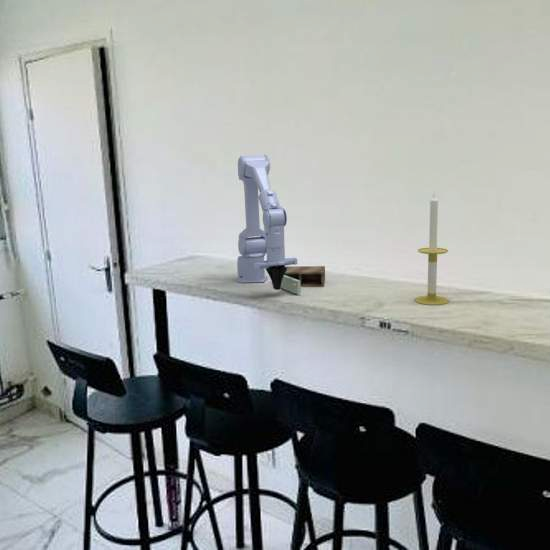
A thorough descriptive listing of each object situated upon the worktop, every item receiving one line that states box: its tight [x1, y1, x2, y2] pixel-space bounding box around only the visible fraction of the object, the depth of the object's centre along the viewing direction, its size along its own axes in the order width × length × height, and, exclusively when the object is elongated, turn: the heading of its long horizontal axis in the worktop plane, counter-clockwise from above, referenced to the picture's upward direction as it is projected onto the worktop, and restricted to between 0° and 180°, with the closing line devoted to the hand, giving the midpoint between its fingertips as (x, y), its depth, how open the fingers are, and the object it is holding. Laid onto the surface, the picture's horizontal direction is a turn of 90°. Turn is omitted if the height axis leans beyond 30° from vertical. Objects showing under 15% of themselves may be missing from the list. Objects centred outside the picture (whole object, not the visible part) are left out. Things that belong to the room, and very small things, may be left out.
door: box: [280, 275, 302, 296], centre depth 196 cm, size 13×2×4 cm, turn 28°
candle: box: [414, 191, 450, 306], centre depth 176 cm, size 10×10×32 cm
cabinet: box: [284, 265, 326, 288], centre depth 207 cm, size 16×10×5 cm, turn 83°
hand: (276, 289), depth 192 cm, fingers closed
